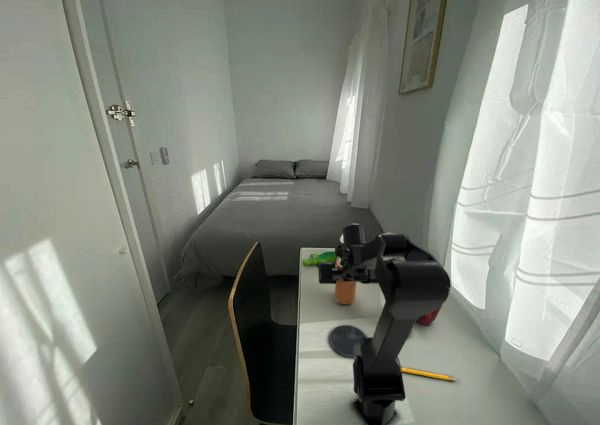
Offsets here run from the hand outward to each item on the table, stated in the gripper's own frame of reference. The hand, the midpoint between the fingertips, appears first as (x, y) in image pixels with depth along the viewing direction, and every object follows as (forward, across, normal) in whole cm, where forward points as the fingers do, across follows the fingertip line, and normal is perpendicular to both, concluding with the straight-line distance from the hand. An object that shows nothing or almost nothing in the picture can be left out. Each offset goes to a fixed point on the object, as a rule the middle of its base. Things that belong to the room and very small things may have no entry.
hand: (345, 278), depth 82 cm
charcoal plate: (-6, +2, +18) cm, 19 cm away
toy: (+22, +5, -11) cm, 25 cm away
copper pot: (+5, 0, +5) cm, 7 cm away
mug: (-2, -22, +14) cm, 26 cm away
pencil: (-13, -15, +25) cm, 32 cm away
